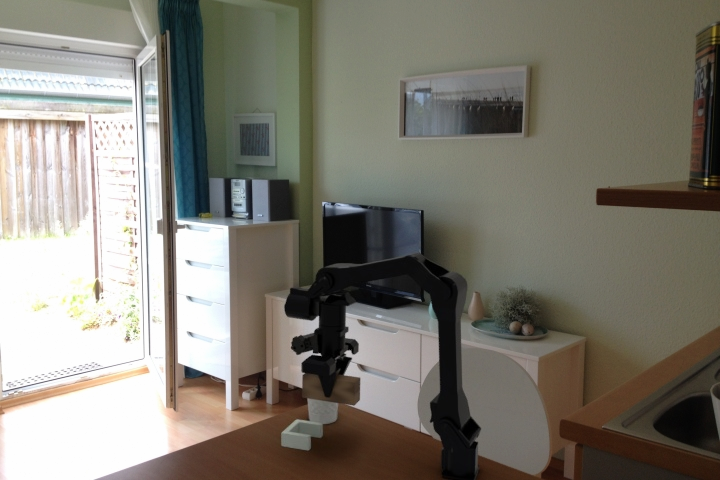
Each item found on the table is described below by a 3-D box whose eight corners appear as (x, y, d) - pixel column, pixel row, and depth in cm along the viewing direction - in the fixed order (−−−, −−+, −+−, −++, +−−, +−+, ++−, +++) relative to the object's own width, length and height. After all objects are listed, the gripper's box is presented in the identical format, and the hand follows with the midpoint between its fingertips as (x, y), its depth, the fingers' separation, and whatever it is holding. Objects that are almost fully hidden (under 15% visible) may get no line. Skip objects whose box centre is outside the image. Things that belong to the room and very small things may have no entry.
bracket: (322, 435, 146) (322, 423, 145) (308, 450, 138) (308, 437, 138) (296, 431, 148) (296, 419, 147) (281, 446, 140) (281, 432, 140)
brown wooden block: (359, 399, 139) (360, 377, 139) (354, 405, 136) (354, 382, 135) (308, 392, 143) (308, 370, 143) (302, 397, 140) (302, 375, 139)
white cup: (335, 426, 151) (335, 385, 149) (302, 424, 152) (302, 383, 151) (342, 414, 158) (342, 374, 157) (311, 411, 160) (311, 372, 159)
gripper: (314, 310, 149) (313, 375, 151) (278, 330, 131) (277, 403, 133) (360, 315, 145) (358, 382, 147) (329, 336, 128) (327, 412, 130)
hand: (330, 394), depth 139 cm, fingers closed on brown wooden block, 3 cm apart
